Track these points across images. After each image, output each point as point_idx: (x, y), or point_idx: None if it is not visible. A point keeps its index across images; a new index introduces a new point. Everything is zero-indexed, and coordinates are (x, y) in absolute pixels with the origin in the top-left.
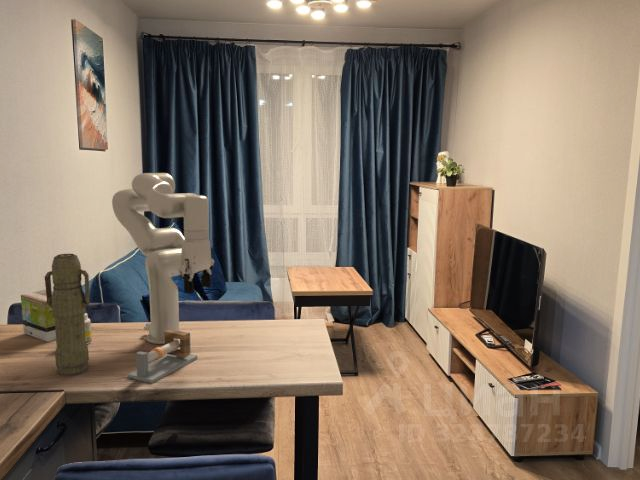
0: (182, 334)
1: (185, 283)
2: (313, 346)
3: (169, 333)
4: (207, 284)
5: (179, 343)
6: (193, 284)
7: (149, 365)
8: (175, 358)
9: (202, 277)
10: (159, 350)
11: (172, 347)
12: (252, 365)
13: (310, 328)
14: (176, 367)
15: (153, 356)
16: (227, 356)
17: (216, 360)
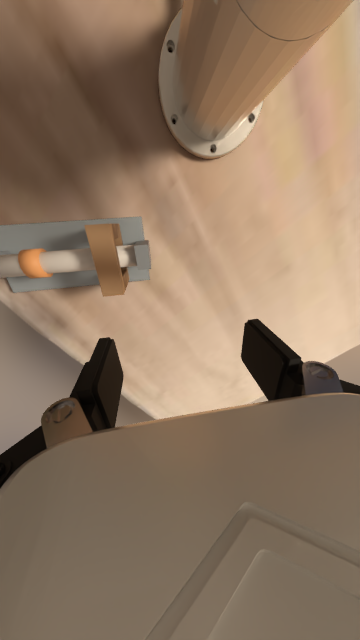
0: (104, 289)
1: (74, 396)
2: None
3: (90, 246)
4: (247, 360)
5: None
6: (114, 415)
7: (47, 231)
8: None
9: (272, 357)
10: (33, 276)
11: (84, 270)
12: (174, 362)
13: (341, 342)
14: (85, 285)
15: (14, 276)
16: (185, 314)
17: (161, 311)
